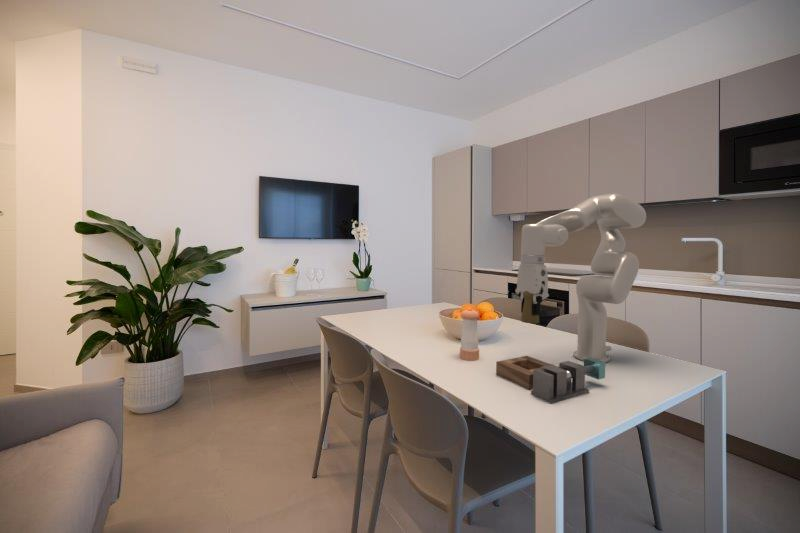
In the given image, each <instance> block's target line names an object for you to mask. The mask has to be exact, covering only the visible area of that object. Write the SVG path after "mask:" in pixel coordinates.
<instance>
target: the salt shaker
mask: <svg viewBox="0 0 800 533" xmlns="http://www.w3.org/2000/svg"><path fill="white" fill-rule="evenodd" d="M460 318H461V319H462V331H461V338H460V348H459V358H460V359H462V360H465V361H478V360H479V359H480V348H479V335H478V334H479V333H478V320H479V318H480V313H479V312H478V310H477V311H476V310H474V309H473V308H471V307H469V308H467V309H465V310H463V311H461V313H460Z"/></svg>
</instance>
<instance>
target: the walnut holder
mask: <svg viewBox="0 0 800 533" xmlns="http://www.w3.org/2000/svg"><path fill="white" fill-rule="evenodd" d="M547 365H552V366H555V367H558V368H559V365H554V364H552V363H549V362H546V361H543V360H540V359H537V358H534V357H531V356H529V355H523V356H519V357H518V356H517V357H513V358H509V359H504V360H503V359H502V360H498V361H496V365H495V366H496V368H495V371H496V372H495V375H496V376H498V377H499V378H502V379H504V380H506V381H509V382H510V383H513V384H515V385H517V386H520V387H522V388H524V389H527V390H528V391H532V390H533V370H535V369H539V370H541V367H543V366H547Z"/></svg>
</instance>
